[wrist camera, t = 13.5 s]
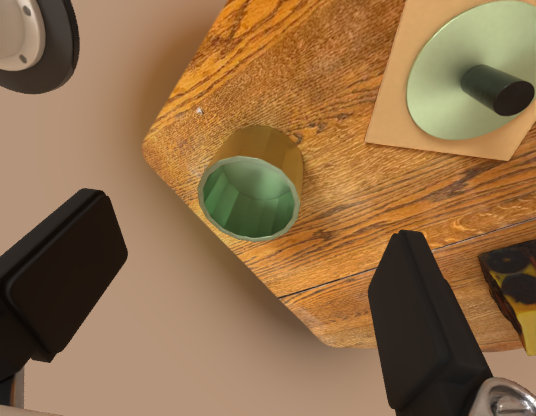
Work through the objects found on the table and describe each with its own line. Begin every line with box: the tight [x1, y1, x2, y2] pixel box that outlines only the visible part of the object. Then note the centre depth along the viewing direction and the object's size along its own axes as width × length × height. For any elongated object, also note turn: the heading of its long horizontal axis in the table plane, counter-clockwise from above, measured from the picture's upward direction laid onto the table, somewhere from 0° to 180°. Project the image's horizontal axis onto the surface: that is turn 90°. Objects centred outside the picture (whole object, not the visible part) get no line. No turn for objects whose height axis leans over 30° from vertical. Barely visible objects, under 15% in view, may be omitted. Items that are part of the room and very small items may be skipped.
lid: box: [405, 0, 536, 140], centre depth 24 cm, size 12×12×8 cm
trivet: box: [364, 0, 536, 161], centre depth 28 cm, size 16×16×1 cm
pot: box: [198, 126, 304, 242], centre depth 34 cm, size 11×11×8 cm
